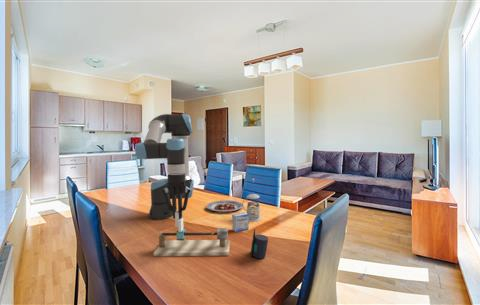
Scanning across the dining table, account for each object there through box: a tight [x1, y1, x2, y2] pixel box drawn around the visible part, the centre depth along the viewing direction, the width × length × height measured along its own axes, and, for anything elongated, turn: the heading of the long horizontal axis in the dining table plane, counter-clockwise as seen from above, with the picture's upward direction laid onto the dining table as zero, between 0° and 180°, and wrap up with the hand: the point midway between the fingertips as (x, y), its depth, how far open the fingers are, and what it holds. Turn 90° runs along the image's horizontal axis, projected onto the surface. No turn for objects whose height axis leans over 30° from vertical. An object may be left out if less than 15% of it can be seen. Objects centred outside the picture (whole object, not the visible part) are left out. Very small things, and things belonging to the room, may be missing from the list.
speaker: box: [250, 228, 269, 260], centre depth 101 cm, size 8×6×10 cm
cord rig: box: [153, 227, 231, 257], centre depth 108 cm, size 32×12×9 cm, turn 90°
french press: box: [241, 178, 262, 222], centre depth 146 cm, size 10×12×25 cm
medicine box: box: [231, 212, 250, 233], centre depth 129 cm, size 8×4×9 cm, turn 117°
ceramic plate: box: [206, 199, 244, 213], centre depth 169 cm, size 26×26×3 cm
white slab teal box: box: [176, 216, 187, 240], centre depth 107 cm, size 3×4×9 cm
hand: (177, 225), depth 107 cm, fingers closed
